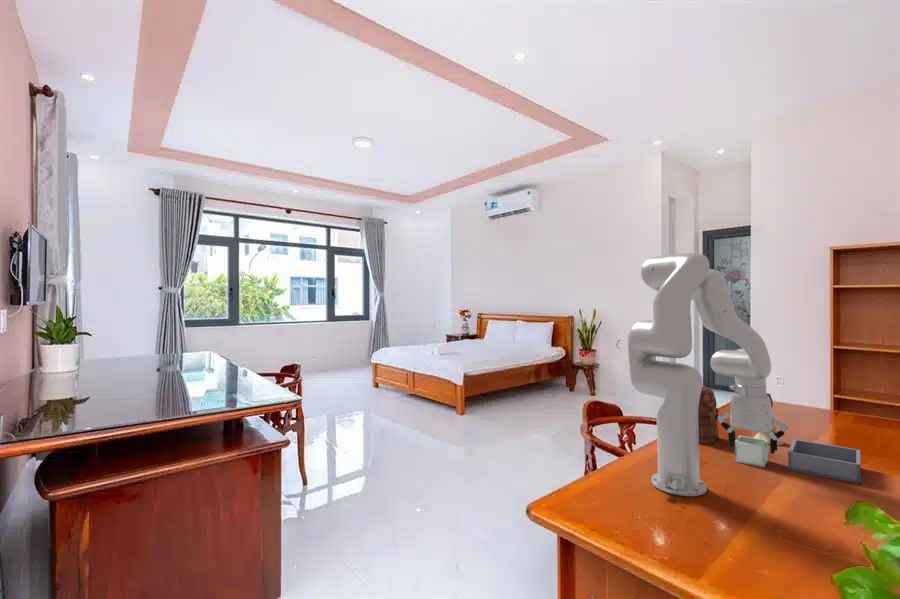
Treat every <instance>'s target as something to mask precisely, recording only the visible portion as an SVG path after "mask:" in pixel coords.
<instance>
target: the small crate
mask: <svg viewBox="0 0 900 599" xmlns="http://www.w3.org/2000/svg"><path fill="white" fill-rule="evenodd" d="M768 446H769V445H768V440H763V439H757V438H753V437H751V436H744V435H739V434H738V437H736V440H735V446H734V463H735V462H736V463H740V464H746V465H750V466H755V467H759V468H765V467H766V465H767V464H768V462H769V448H768Z"/></svg>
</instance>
